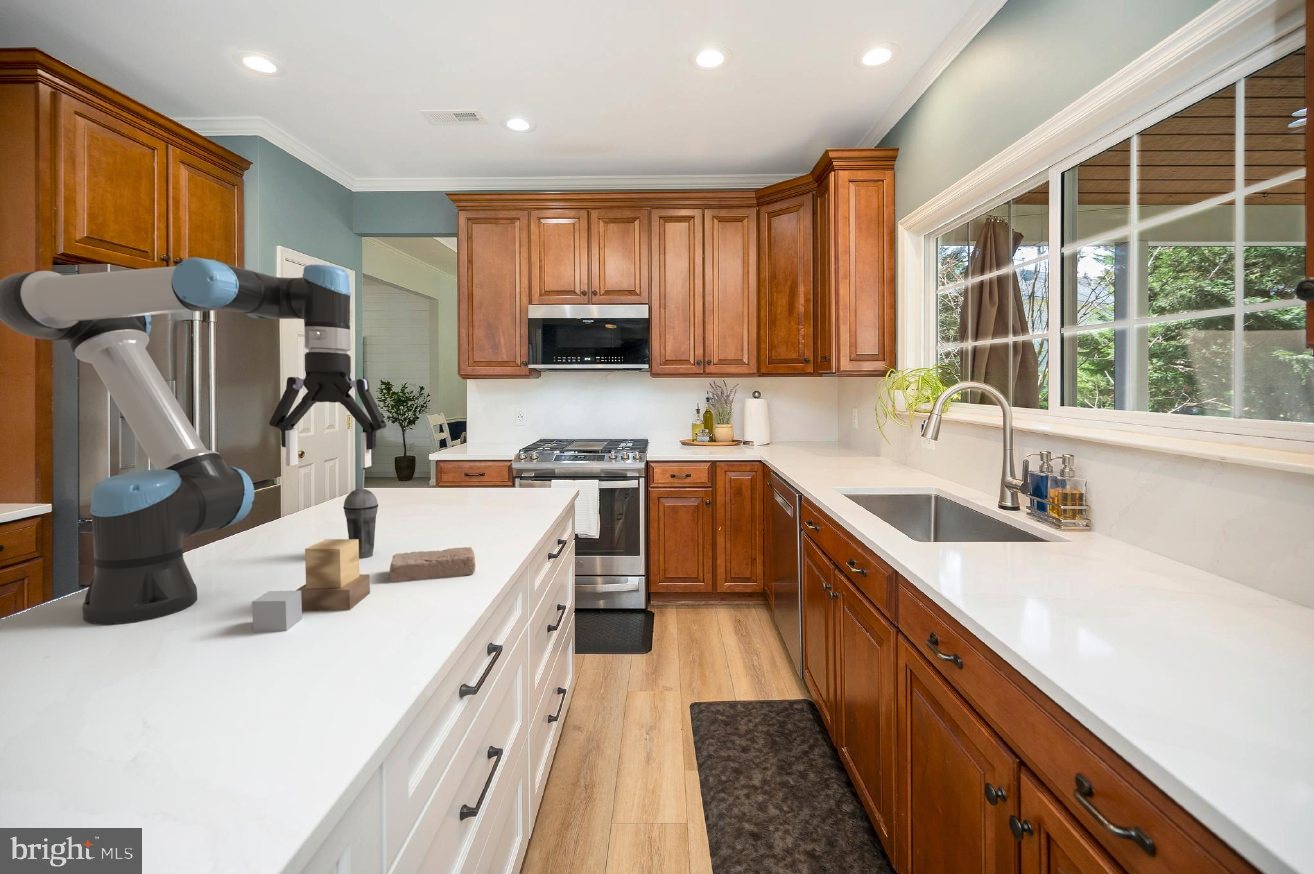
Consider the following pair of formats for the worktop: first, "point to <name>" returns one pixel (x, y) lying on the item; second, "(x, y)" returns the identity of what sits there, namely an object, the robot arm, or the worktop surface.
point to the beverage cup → (361, 518)
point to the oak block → (332, 563)
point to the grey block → (276, 611)
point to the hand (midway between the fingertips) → (329, 466)
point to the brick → (432, 564)
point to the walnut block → (335, 595)
